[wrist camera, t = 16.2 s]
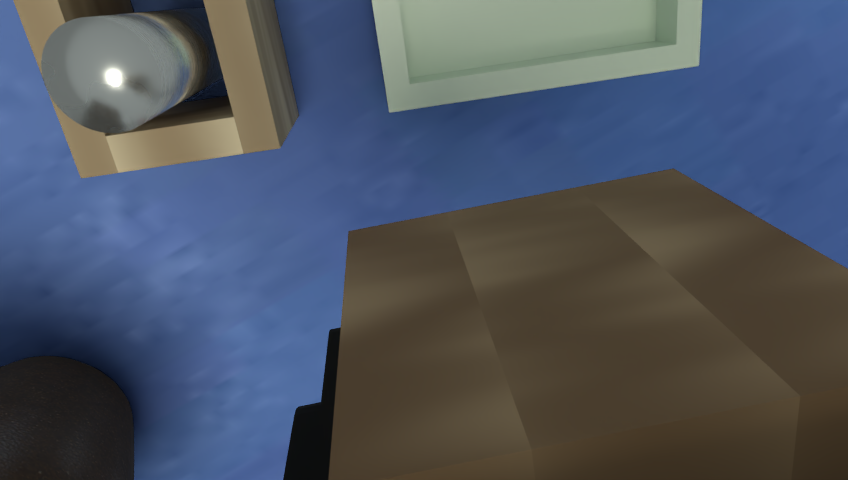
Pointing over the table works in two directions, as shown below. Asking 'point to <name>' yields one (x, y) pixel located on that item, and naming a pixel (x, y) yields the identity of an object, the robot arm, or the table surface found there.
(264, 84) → the go block
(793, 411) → the block
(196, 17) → the cylinder
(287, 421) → the table surface
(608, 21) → the tray
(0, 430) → the plant pot
